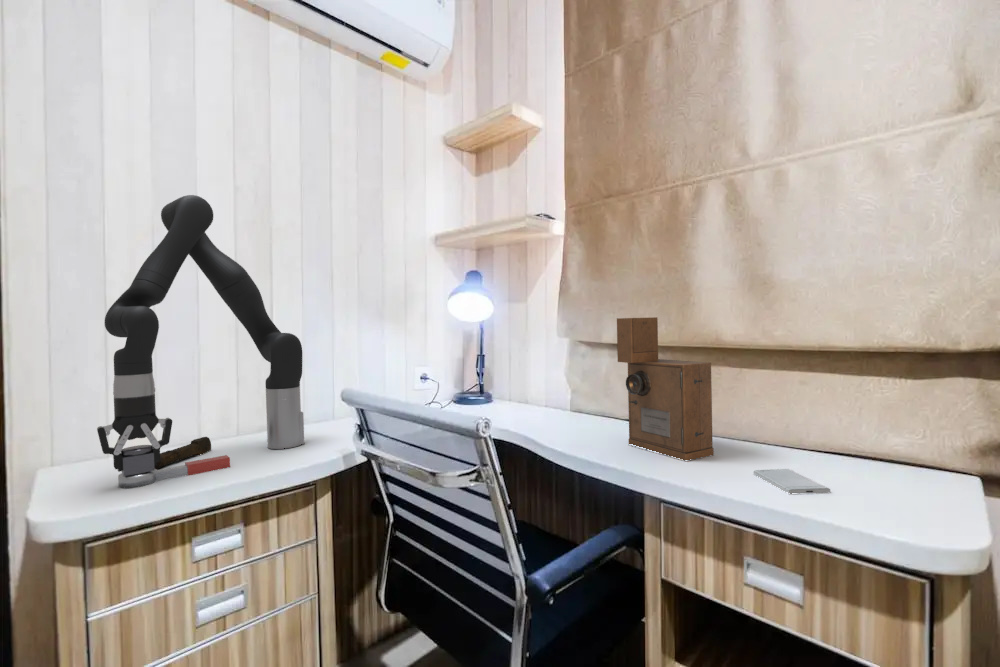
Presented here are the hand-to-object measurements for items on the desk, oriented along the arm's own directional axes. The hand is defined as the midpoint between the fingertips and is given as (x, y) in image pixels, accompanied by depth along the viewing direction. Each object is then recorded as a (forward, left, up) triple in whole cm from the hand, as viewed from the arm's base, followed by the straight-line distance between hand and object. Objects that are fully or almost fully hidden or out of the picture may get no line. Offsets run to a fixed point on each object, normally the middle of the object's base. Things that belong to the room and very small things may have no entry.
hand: (137, 467), depth 111 cm
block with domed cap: (0, 0, -1) cm, 1 cm away
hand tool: (-11, -17, -4) cm, 21 cm away
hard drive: (-98, +104, -4) cm, 143 cm away
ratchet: (-7, 0, -4) cm, 8 cm away
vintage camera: (-105, +72, -4) cm, 127 cm away
